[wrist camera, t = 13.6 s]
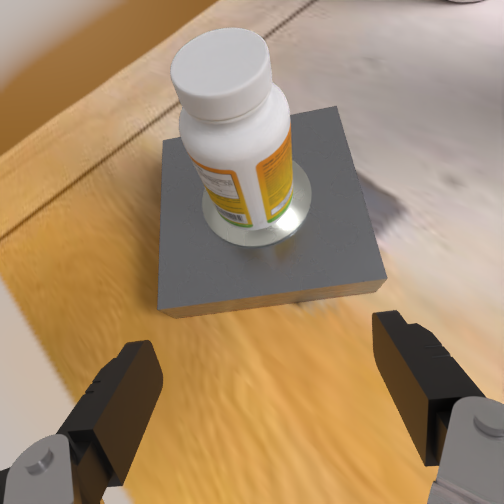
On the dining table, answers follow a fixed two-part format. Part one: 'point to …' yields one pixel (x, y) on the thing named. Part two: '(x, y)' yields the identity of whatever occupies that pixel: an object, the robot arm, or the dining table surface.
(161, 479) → the dining table surface
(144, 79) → the dining table surface
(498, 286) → the dining table surface
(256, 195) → the supplement bottle
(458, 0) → the milk bottle
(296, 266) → the grey coaster with tab
